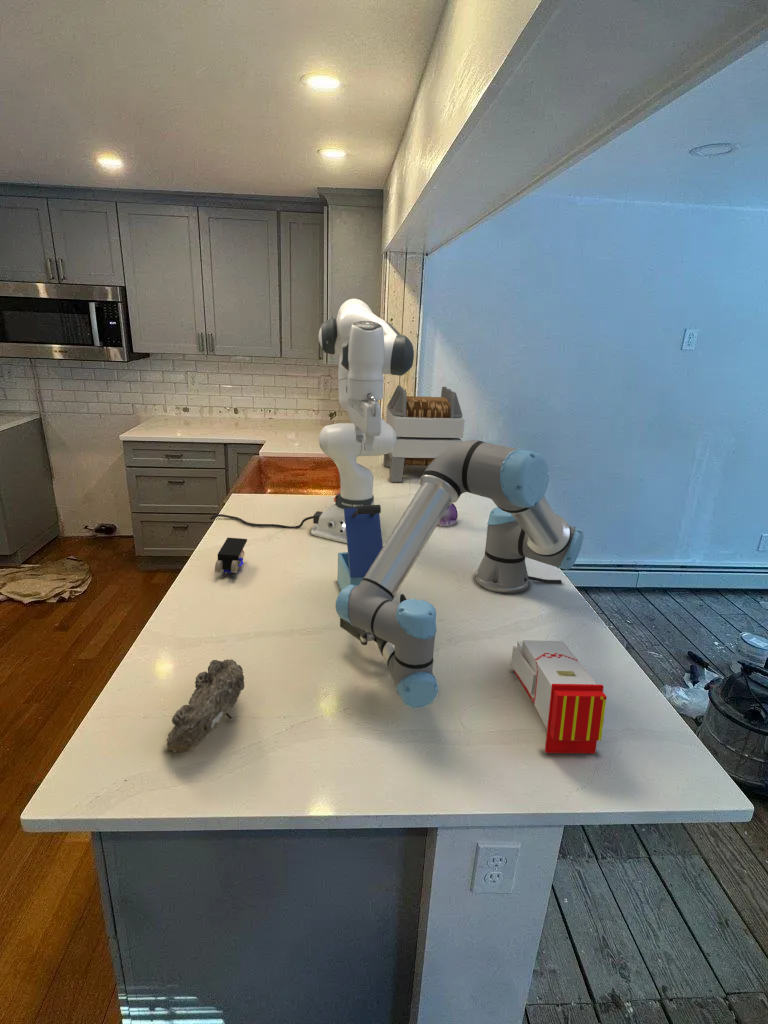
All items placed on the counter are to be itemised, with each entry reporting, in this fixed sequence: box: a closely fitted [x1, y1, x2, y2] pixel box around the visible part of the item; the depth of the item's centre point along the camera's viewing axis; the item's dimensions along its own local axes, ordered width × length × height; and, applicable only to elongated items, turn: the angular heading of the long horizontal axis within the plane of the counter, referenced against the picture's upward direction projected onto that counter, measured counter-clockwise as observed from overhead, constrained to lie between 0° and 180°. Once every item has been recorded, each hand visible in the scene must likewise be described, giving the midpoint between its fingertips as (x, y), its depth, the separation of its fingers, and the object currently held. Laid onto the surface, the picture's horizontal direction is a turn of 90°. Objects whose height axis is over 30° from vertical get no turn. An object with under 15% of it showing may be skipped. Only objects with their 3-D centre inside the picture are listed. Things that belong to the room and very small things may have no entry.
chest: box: [337, 551, 364, 591], centre depth 155 cm, size 17×9×9 cm, turn 15°
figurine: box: [437, 503, 459, 527], centre depth 210 cm, size 9×10×15 cm
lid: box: [344, 504, 384, 578], centre depth 144 cm, size 18×9×9 cm
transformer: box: [383, 384, 465, 483], centre depth 268 cm, size 34×33×41 cm
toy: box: [510, 639, 607, 754], centre depth 114 cm, size 12×13×30 cm
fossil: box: [166, 658, 245, 754], centre depth 106 cm, size 22×10×15 cm
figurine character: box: [214, 537, 248, 578], centre depth 166 cm, size 7×8×15 cm
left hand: (363, 446), depth 144 cm, fingers open, 8 cm apart
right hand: (374, 601), depth 139 cm, fingers open, 13 cm apart
